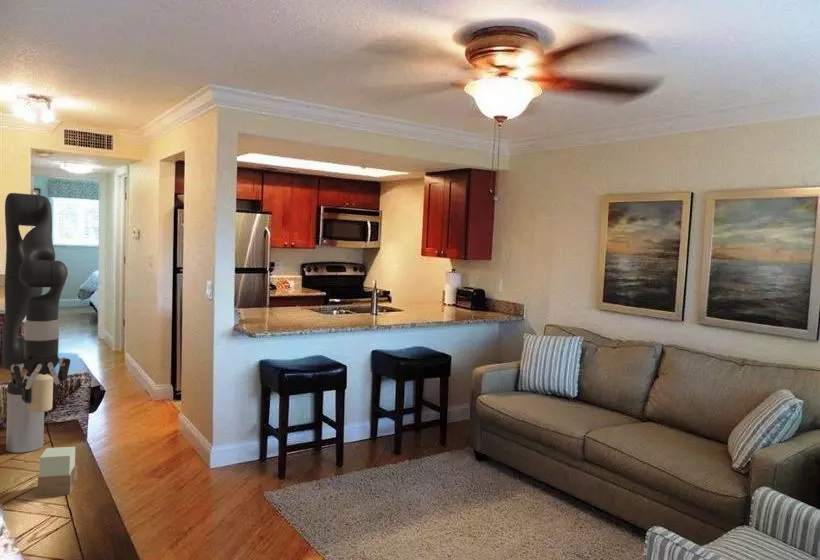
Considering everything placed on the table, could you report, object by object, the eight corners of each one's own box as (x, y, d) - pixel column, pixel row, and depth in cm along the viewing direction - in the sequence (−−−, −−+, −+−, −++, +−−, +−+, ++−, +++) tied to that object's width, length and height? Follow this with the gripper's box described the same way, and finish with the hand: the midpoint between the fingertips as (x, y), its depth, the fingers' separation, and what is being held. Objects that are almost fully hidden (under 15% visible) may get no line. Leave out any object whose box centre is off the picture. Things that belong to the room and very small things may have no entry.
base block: (45, 485, 147) (46, 466, 147) (76, 483, 150) (76, 464, 149) (37, 497, 141) (38, 477, 140) (69, 495, 143) (70, 475, 143)
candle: (40, 413, 146) (41, 375, 146) (22, 411, 148) (23, 373, 147) (57, 408, 152) (58, 371, 151) (39, 405, 153) (40, 368, 152)
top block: (46, 467, 147) (46, 448, 146) (74, 465, 149) (75, 446, 149) (39, 477, 141) (39, 457, 140) (69, 475, 143) (69, 455, 143)
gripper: (63, 331, 157) (61, 392, 158) (3, 337, 144) (2, 402, 145) (77, 336, 153) (75, 398, 154) (17, 341, 140) (16, 409, 142)
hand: (40, 400), depth 150 cm, fingers closed on candle, 5 cm apart
